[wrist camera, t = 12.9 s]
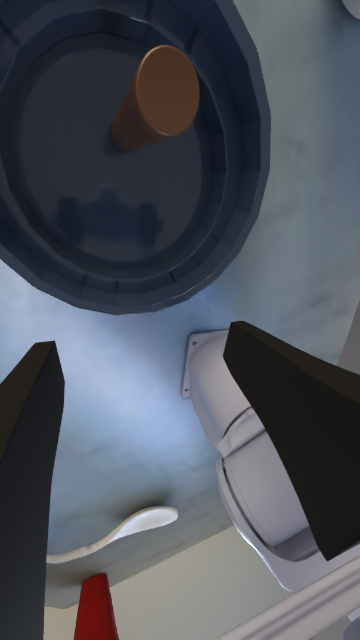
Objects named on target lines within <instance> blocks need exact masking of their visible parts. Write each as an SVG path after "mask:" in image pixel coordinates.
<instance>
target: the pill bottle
mask: <svg viewBox="0 0 360 640" xmlns="http://www.w3.org/2000/svg"><path fill="white" fill-rule="evenodd" d="M342 2H343V4H344V6H345V7H346V9H347V10H348V11H349V12H350V13H351V14H352V15H353V16H354V17H356V18H358V19H360V0H342Z"/></svg>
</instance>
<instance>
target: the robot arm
mask: <svg viewBox="0 0 360 640" xmlns="http://www.w3.org/2000/svg"><path fill="white" fill-rule="evenodd" d="M194 341H195V342H194ZM192 342H194V343H192ZM64 385H65V380H64V376H63V372H62V368H61V364H60V360H59V356H58V352H57V347H56V343H55V341H48V342H39V343H35V344H34V345H33V346H32V347H31V348H30V350H29V351H28V352H27V353H26V354H25V356H24V357H23V358H22V359H21V361H20V362H19V363H18V364H17V365H16V367H15V368H14V369H13V370H12V371H11V372H10V374H9V375H8V376H7V377H6V378H5V379H4V380H3V382H2V383H1V384H0V640H43V633H44V631H43V630H44V602H45V580H46V557H47V540H48V523H49V509H50V495H51V483H52V475H53V468H54V462H55V456H56V450H57V444H58V438H59V432H60V426H61V420H62V414H63V407H64ZM181 396H182V398H189V397H190V399H191V401H192V403H193V406H194V408H195V410H196V413H197V415H198V417H199V420H200V422H201V425H202V427H203V429H204V432H205V434H206V436H207V438H208V440H209V442H210V443H211V445H212V446H213V447H214V448H215V449H216V450H218V451H219V452H220V453H221V455H222V456H221V457H220V458H219V459H218V460H217V465H216V470H217V471H216V480H217V485H218V489H219V492H220V495H221V498H222V501H223V503H224V506H225V508H226V510H227V512H228V514H229V516H230V518H231V520H232V521H233V523H234V525H235V526H236V528H237V529H238V531H239V532H240V534H241V535H242V536H243V538H244V539H245V540H246V541H247V542H248V543H249V544H250V545H252V546H253V547H254V549H255V550H256V551H257V552H258V554H259V555H260V556H261V558H262V559H263V560H264V562H265V563H266V564H267V566H268V568H269V569H270V571H271V572H272V574H273V575H274V576H276V577H277V579H278V581H279V582H280V584H281V586H282V587H283V588H285V589H286V590H288V591H292V592H294V593H293V594H292V595H290V596H288V597H286V598H285V599H283V600H281V601H279V602H278V603H276V604H274V605H272V606H271V607H269V608H268V609H265V610H264V611H262V612H260V613H259V614H257V615H255V616H253V617H252V618H250V619H248V620H246V621H245V622H243V623H241V624H239V625H238V626H236V627H234V628H233V629H231V630H229V631H227V632H225V633H224V634H222V635H220V636H219V637H217V638H215V639H213V640H311V639H313V638H314V637H316V636H317V635H319V634H320V633H322V632H323V631H325V630H326V629H328V628H329V627H331V626H332V625H334V624H335V623H337V622H338V621H340V620H341V619H343V618H344V617H346V616H348V617H349V619H350V620H351V622H352V623H351V624H350V625H349V626H348V627H347V628H346V629H345V630H344V631H343V638H344V640H360V375H359V374H356V373H353V372H350V371H347V370H345V369H342V368H340V367H338V366H335V365H333V364H330V363H328V362H325V361H323V360H321V359H318V358H316V357H314V356H312V355H310V354H308V353H306V352H304V351H301V350H299V349H297V348H295V347H293V346H291V345H289V344H288V343H286V342H284V341H282V340H280V339H278V338H276V337H274V336H272V335H270V334H269V333H267V332H265V331H263V330H261V329H259V328H257V327H255V326H253V325H251V324H249V323H247V322H244V321H237V322H231V325H230V329H229V330H222V331H213V332H204V333H195V334H192V335H190V337H189V341H188V349H187V356H186V363H185V370H184V377H183V384H182V391H181Z"/></svg>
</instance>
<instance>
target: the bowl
mask: <svg viewBox="0 0 360 640" xmlns="http://www.w3.org/2000/svg"><path fill="white" fill-rule="evenodd" d="M159 45H170V46H173V47H176V48H178V49H179V50H181V51H182V52H183V53H184V54H185V55H186V56H187V57H188V59H189V60H190V62H191V63H192V65H193V67H194V69H195V72H196V74H197V78H198V82H199V90H200V98H199V106H198V111H197V114H196V116H195V119H194V121H193V122H192V124H191V125H190V127H189V128H188V129H187V130H186V131H185V132H183V133H181V134H179V135H177V136H174V137H171V138H168V139H166V140H163V141H160V142H157V143H154V144H151V145H149V146H146V147H143V148H140V149H137V150H134V151H131V152H128V153H123V152H120V151H118V150H117V149H116V148H115V147H114V146H113V144H112V142H111V140H110V136H109V129H110V126H111V123H112V121H113V119H114V117H115V115H116V113H117V111H118V109H119V106H120V104H121V102H122V100H123V98H124V96H125V94H126V92H127V90H128V87H129V85H130V83H131V81H132V79H133V77H134V75H135V73H136V71H137V68H138V66H139V64H140V62H141V60H142V59H143V57H144V56H145V54H146V53H147V52H148V51H149V50H151V49H152V48H154V47H156V46H159ZM256 51H257V49H256V47H255V45H254V42H253V40H252V38H251V36H250V34H249V32H248V30H247V28H246V26H245V24H244V22H243V20H242V18H241V16H240V14H239V12H238V10H237V8H236V6H235V4H234V2H233V0H0V259H1V260H2V261H3V262H5V263H6V264H7V265H8V266H9V267H11V268H12V269H13V270H14V271H15V272H17V273H18V274H19V275H20V276H21V277H23V278H24V279H25V280H26V281H27V282H29V283H30V284H31V285H32V286H33V287H36V288H37V289H39V290H41V291H43V292H45V293H47V294H49V295H51V296H53V297H56V298H58V299H60V300H62V301H64V302H66V303H68V304H70V305H72V306H74V307H78V308H81V309H86V310H91V311H97V312H102V313H107V314H112V315H128V314H141V313H153V312H156V311H159V310H162V309H165V308H168V307H170V306H173V305H176V304H179V303H181V302H184V301H186V300H188V299H190V298H191V297H192V296H194V295H195V294H197V293H198V292H200V291H201V290H202V289H204V288H205V287H207V286H208V285H210V284H211V283H213V282H214V280H216V279H217V278H218V277H219V276H220V274H221V273H222V272H223V271H224V270H225V269H226V267H227V266H228V265H229V264H230V263H231V262H232V261H233V259H234V258H235V257H236V256H237V255H238V254H239V252H240V250H241V248H242V246H243V244H244V243H245V241H246V239H247V237H248V235H249V233H250V231H251V229H252V227H253V225H254V223H255V221H256V219H257V217H258V215H259V211H260V207H261V203H262V199H263V195H264V191H265V187H266V183H267V179H268V175H269V169H270V131H271V115H270V108H269V103H268V99H267V94H266V89H265V84H264V79H263V75H262V70H261V65H260V60H259V56H258V52H256Z"/></svg>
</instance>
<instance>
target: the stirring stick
mask: <svg viewBox="0 0 360 640" xmlns="http://www.w3.org/2000/svg"><path fill="white" fill-rule="evenodd" d="M199 98H200V90H199V82H198V78H197V74H196V72H195V69H194V67H193V65H192V63H191V62H190V60H189V59H188V57H187V56H186V55H185V54H184V53H183V52H182V51H181V50H179V49H178V48H176V47H173V46H170V45H159V46H156V47H154V48H152V49H151V50H149V51H148V52H147V53H146V54H145V56H144V57H143V59H142V60H141V62H140V64H139V66H138V68H137V71H136V73H135V75H134V77H133V79H132V81H131V83H130V85H129V87H128V90H127V92H126V94H125V96H124V98H123V100H122V102H121V104H120V106H119V109H118V111H117V113H116V115H115V117H114V119H113V121H112V123H111V126H110V129H109V136H110V140H111V142H112V144H113V146H114V147H115V148H116V149H117V150H118V151H120V152H123V153H128V152H131V151H134V150H137V149H140V148H143V147H146V146H149V145H151V144H154V143H157V142H160V141H163V140H166V139H168V138H171V137H174V136H177V135H179V134H181V133H183V132H185V131H186V130H187V129H188V128H189V127H190V125H191V124H192V122H193V121H194V119H195V116H196V114H197V111H198V106H199Z"/></svg>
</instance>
